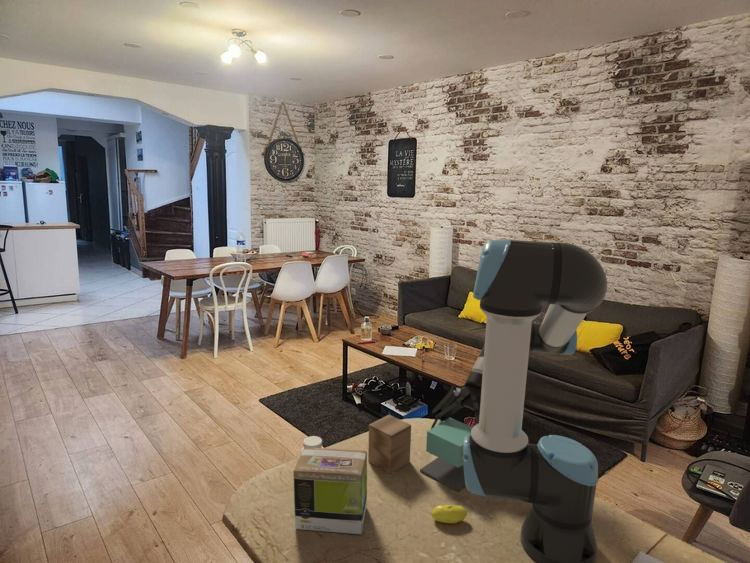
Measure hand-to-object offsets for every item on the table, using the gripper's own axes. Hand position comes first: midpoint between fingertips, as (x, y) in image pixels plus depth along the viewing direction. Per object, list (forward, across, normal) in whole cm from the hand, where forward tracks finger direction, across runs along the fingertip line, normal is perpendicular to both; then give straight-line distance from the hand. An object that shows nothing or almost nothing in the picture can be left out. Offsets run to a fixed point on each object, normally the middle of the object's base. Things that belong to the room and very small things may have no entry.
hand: (447, 451), depth 127 cm
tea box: (+27, +9, +18) cm, 34 cm away
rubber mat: (+3, 0, -6) cm, 7 cm away
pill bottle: (+23, +23, +13) cm, 35 cm away
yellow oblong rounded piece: (+14, -11, +5) cm, 19 cm away
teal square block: (-1, 0, -3) cm, 3 cm away
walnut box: (+9, +14, 0) cm, 17 cm away
